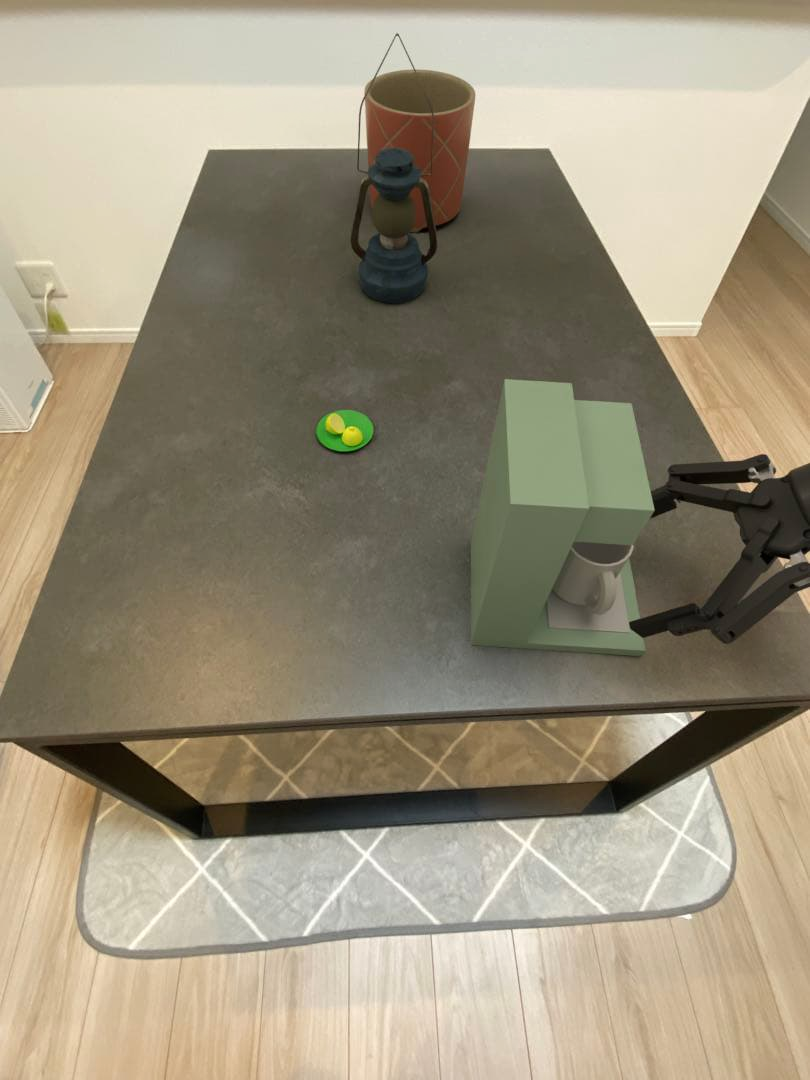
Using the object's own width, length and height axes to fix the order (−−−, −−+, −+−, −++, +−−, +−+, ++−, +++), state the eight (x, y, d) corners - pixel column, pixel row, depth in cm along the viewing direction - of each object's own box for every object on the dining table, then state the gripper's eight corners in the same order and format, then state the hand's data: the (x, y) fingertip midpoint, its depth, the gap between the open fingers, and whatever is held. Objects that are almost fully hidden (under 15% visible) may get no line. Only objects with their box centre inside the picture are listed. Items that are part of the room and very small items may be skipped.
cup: (596, 550, 72) (620, 506, 65) (625, 625, 67) (654, 585, 60) (538, 557, 72) (556, 513, 64) (563, 633, 66) (585, 594, 59)
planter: (412, 246, 112) (416, 125, 95) (347, 205, 119) (341, 86, 103) (483, 213, 119) (498, 94, 102) (418, 176, 127) (423, 60, 110)
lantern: (349, 303, 101) (333, 47, 72) (356, 263, 108) (345, 14, 79) (432, 308, 101) (451, 53, 72) (435, 268, 108) (452, 20, 79)
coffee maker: (623, 551, 75) (718, 391, 53) (641, 656, 67) (762, 519, 45) (470, 541, 75) (504, 378, 53) (470, 645, 67) (510, 503, 46)
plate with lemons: (310, 449, 83) (308, 435, 80) (324, 409, 87) (322, 394, 85) (367, 458, 82) (366, 443, 80) (378, 417, 87) (378, 402, 84)
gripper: (925, 637, 47) (663, 694, 60) (816, 415, 62) (622, 499, 74) (905, 602, 43) (627, 671, 55) (793, 371, 57) (592, 468, 70)
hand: (624, 573), depth 65 cm, fingers open, 13 cm apart
